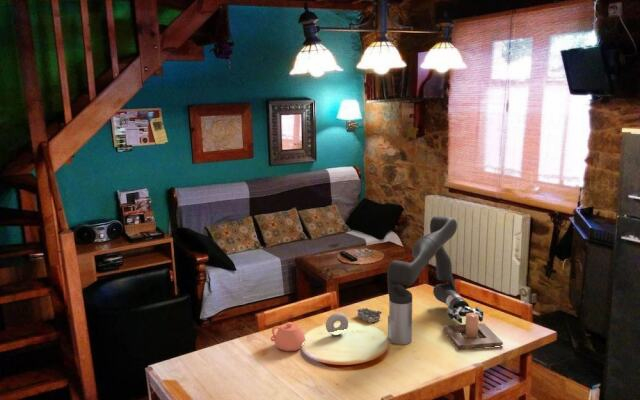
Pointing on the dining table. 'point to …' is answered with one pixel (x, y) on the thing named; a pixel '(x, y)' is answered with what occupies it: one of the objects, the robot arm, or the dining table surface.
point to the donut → (333, 319)
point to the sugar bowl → (288, 337)
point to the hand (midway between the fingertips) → (471, 320)
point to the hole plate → (463, 344)
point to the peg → (471, 326)
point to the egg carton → (365, 314)
